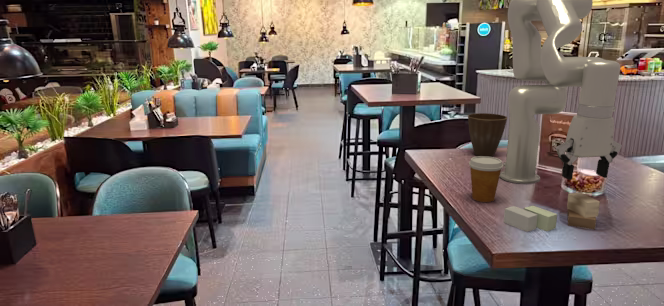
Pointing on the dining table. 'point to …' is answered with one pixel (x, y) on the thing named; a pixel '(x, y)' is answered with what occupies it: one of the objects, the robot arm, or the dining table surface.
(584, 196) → the beech brick
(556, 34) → the robot arm
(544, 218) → the sage brick
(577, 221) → the walnut base
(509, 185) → the dining table surface
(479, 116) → the plant pot
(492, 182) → the disposable coffee cup
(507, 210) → the grey brick
